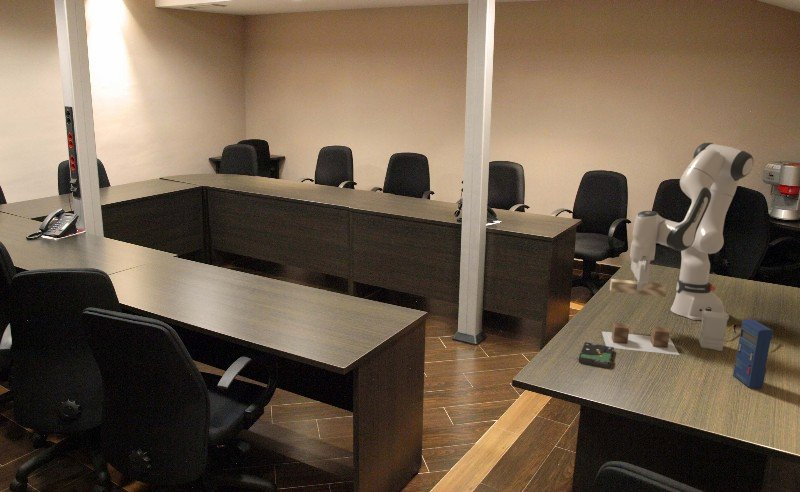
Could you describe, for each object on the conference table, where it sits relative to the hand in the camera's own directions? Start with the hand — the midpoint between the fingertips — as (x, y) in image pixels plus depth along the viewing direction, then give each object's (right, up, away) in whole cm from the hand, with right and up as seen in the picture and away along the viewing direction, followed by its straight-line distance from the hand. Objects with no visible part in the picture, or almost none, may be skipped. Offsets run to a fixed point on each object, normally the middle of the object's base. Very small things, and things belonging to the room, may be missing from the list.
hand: (637, 288), depth 245 cm
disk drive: (-23, -24, -23) cm, 40 cm away
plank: (0, -2, 0) cm, 2 cm away
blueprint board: (-3, -20, -10) cm, 23 cm away
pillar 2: (+3, -20, -12) cm, 24 cm away
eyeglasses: (+40, -21, -4) cm, 45 cm away
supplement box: (+23, -21, -10) cm, 33 cm away
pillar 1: (-10, -19, -9) cm, 23 cm away
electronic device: (+21, -28, -39) cm, 52 cm away
